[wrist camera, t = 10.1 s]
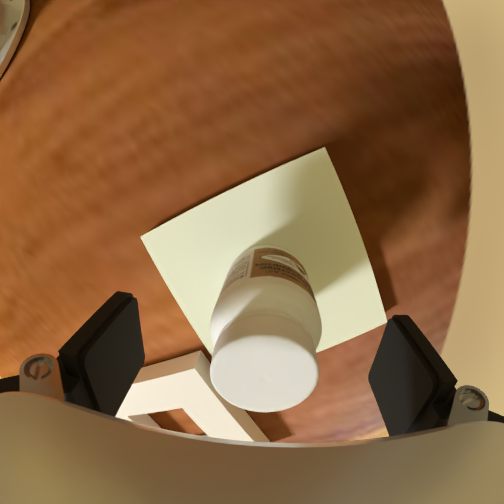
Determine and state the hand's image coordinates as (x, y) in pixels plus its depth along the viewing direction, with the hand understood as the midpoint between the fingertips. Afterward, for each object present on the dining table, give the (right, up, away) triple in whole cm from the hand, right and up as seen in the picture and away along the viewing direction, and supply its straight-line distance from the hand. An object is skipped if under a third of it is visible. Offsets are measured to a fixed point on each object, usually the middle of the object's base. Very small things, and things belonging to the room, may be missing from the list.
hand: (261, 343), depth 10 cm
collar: (-7, -11, +11) cm, 17 cm away
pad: (+1, +2, +7) cm, 7 cm away
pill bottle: (+1, +2, +6) cm, 6 cm away
